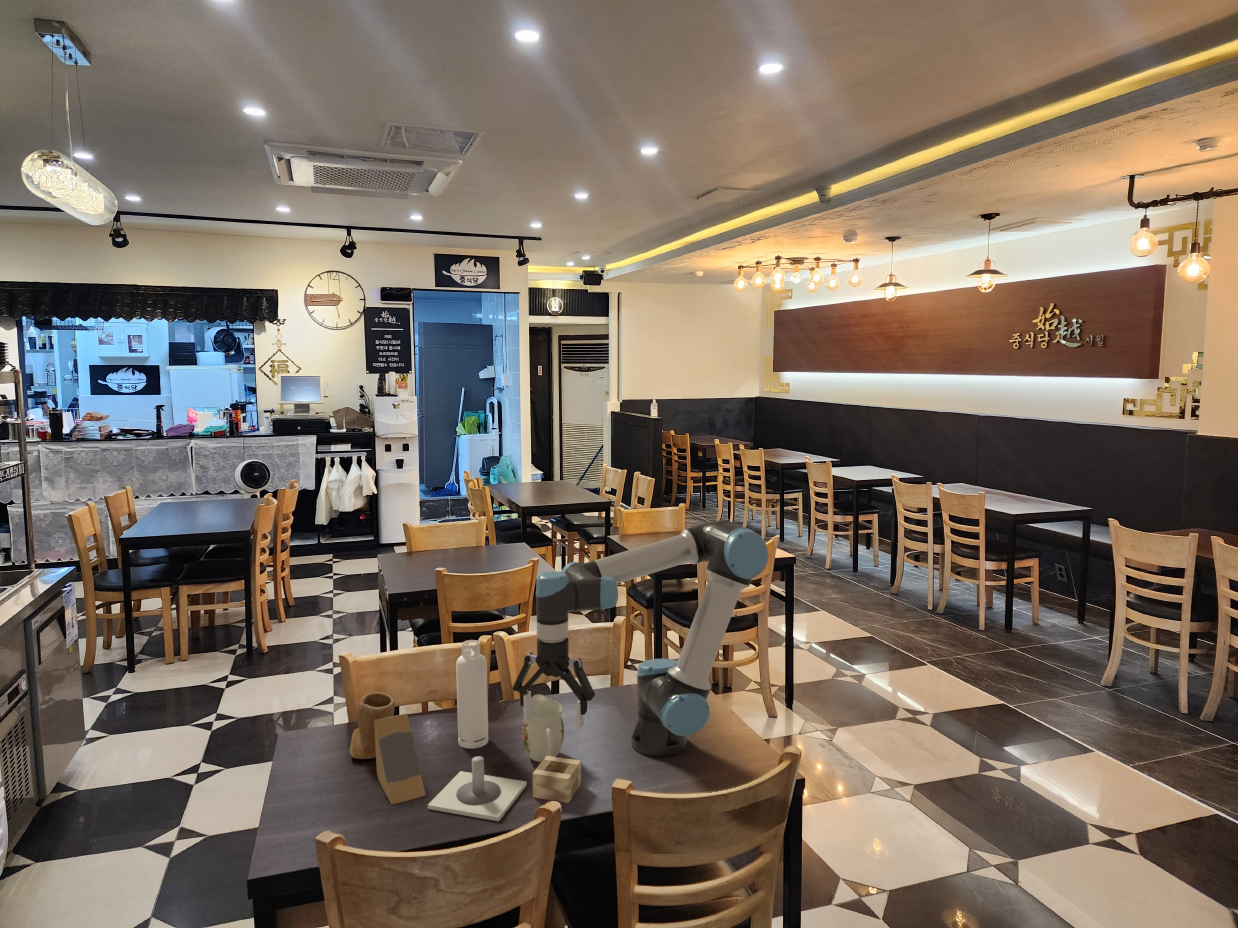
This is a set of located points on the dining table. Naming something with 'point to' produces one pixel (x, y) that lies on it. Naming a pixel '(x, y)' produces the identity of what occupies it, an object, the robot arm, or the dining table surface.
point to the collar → (557, 779)
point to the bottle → (472, 697)
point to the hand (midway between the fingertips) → (553, 722)
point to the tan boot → (369, 723)
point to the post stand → (478, 794)
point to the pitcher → (543, 728)
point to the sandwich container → (397, 759)
